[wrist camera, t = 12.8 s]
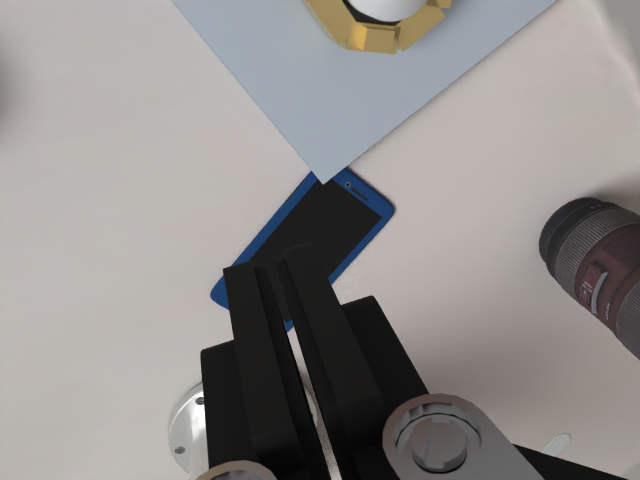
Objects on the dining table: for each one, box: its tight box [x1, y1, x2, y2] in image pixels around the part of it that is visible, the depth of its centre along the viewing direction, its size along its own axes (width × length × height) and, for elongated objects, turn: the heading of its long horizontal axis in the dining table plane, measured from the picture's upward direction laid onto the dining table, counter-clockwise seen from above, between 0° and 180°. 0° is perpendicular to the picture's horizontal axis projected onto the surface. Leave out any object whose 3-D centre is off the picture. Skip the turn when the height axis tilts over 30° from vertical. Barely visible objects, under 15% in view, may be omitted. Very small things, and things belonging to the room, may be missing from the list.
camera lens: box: [539, 198, 640, 360], centre depth 41 cm, size 8×8×15 cm
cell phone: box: [210, 167, 394, 332], centre depth 42 cm, size 7×14×1 cm, turn 139°
